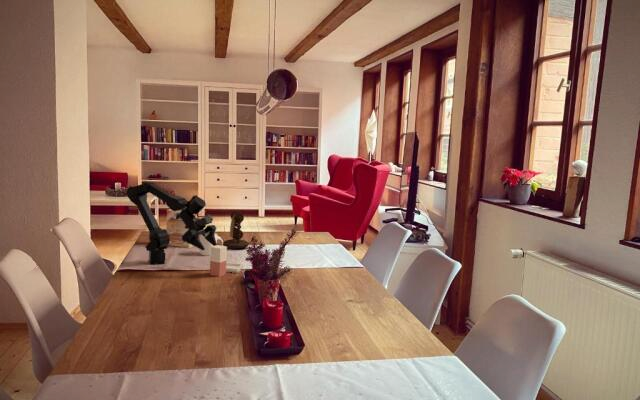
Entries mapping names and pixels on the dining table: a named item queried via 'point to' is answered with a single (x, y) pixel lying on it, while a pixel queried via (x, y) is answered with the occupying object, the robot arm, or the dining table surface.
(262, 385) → the dining table surface
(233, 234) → the dark lumpy post
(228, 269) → the white tray
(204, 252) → the mug
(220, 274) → the two tone block
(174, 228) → the coffeecake box
